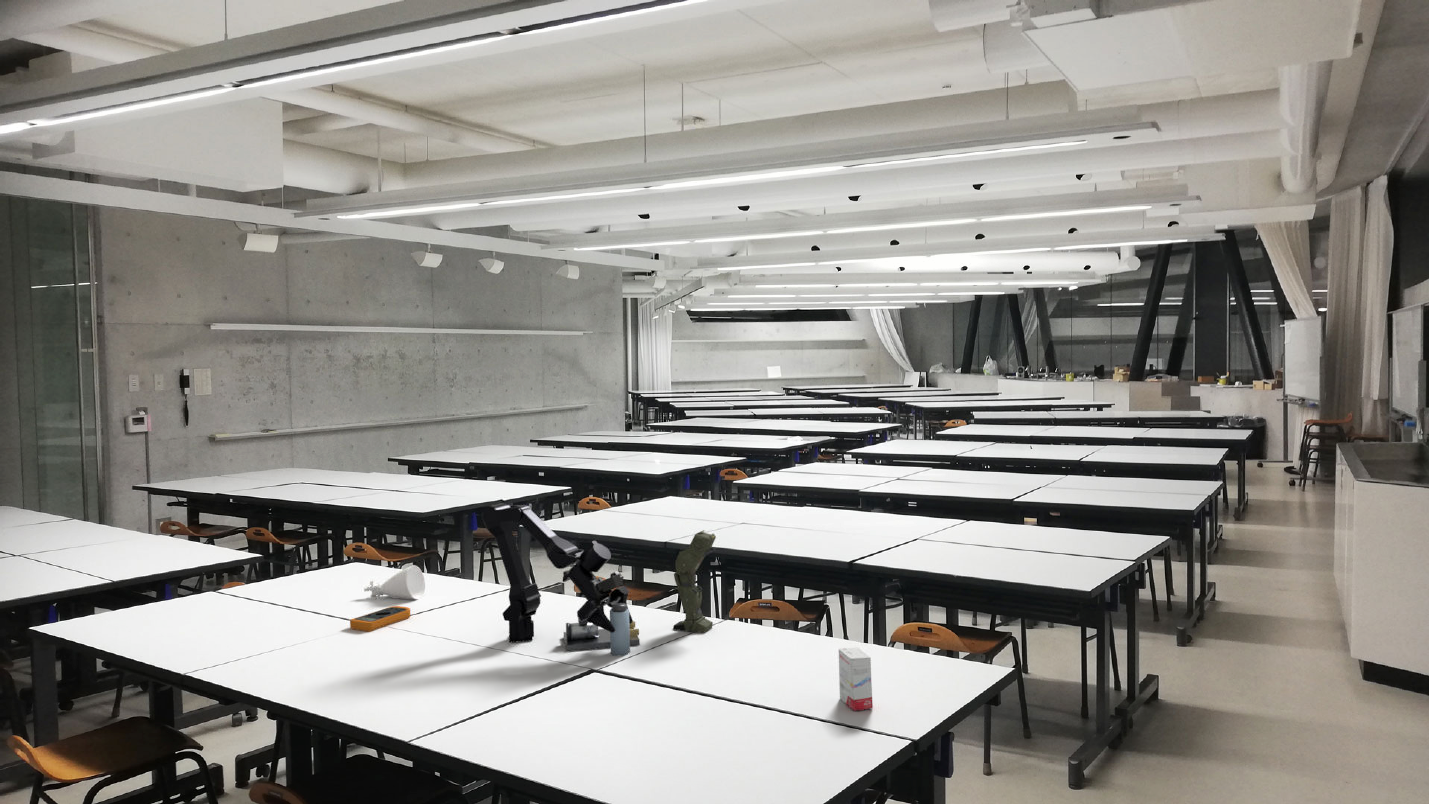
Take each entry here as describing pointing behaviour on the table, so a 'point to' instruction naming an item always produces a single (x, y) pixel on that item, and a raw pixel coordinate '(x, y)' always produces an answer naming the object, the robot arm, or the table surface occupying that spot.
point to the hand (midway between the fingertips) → (623, 627)
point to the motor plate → (596, 641)
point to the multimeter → (380, 618)
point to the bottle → (620, 629)
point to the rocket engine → (401, 585)
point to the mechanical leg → (692, 583)
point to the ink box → (855, 678)
